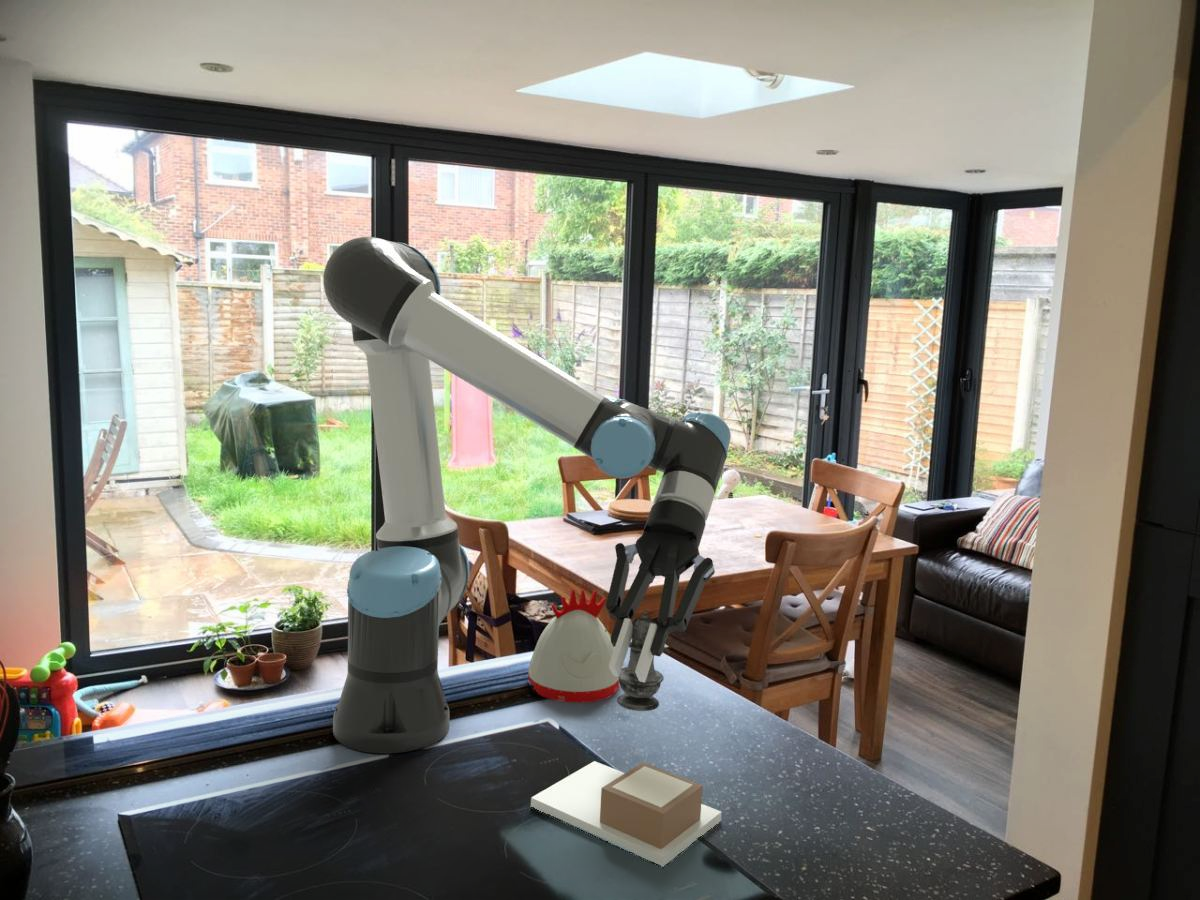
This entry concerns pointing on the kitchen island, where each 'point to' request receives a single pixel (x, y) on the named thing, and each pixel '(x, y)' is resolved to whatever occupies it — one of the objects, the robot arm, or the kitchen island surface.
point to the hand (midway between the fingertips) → (627, 673)
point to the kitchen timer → (574, 654)
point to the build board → (587, 811)
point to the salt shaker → (635, 691)
